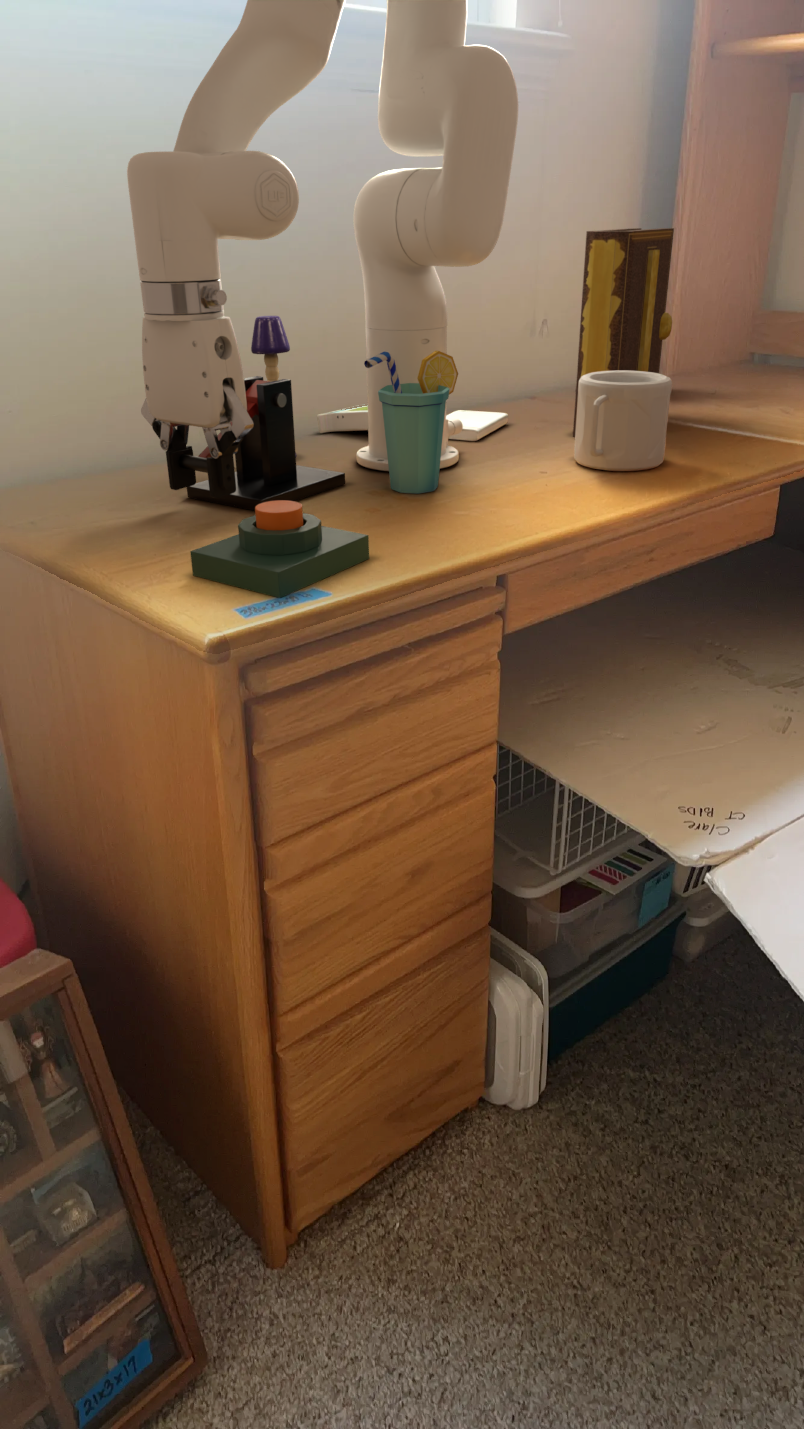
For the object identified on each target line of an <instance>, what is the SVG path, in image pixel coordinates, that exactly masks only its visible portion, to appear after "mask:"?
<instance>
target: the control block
mask: <svg viewBox="0 0 804 1429" xmlns="http://www.w3.org/2000/svg"><path fill="white" fill-rule="evenodd" d="M237 531H238V534H234V535H232V536H229V537H227V538H224V539H221V540H218V541H215V542H211V543H209V544H206V545H204V546H201V547H198V548H195V549H192V550H190V552H189V553H190V562H191V570H192V576H193V577H197V578H200V579H201V578H202V579H204V580H205V579H206V580H209V581H213V582H216V583H219V584H223V585H229V586H233V587H236V588H240V589H244V590H248V591H251V592H256V593H259V594H263V595H267V596H271V597H275V598H279V599H281V598H283V597H286V596H288V595H291V594H292V593H295V592H297V591H300V590H302V589H304V588H306V587H308V586H311V585H312V584H315V583H317V582H319V581H322V580H324V579H326V578H328V577H331V576H333V575H336V574H337V573H340V572H342V571H345V570H347V569H349V568H351V567H354V566H356V565H359V564H361V563H363V562H365V561H367V560H370V537H369V534H365V533H362V532H361V533H360V532H356V531H351V530H350V531H349V530H345V529H340V528H335V527H330V526H325V525H322V520H321V519H320V518H319V517H317V516H316V515H314V514H310V513H305V512H303V526H301V527H298V528H295V529H288V530H264V529H259V528H257V526H256V514H254V515H252V516H249V517H246V518H242V519H241V521H240V522H239V523H238V524H237Z"/></svg>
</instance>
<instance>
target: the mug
mask: <svg viewBox="0 0 804 1429" xmlns="http://www.w3.org/2000/svg"><path fill="white" fill-rule="evenodd" d="M672 387H673V381H672V379H671V377H670V376H668V375H666V374H662V373H660V372H659V373H653V372H645V371H628V370H615V371H599V372H593V373H589V374H586V375H583V376H582V377H581V378H580V380H579V385H578V402H577V417H576V432H575V436H574V449H573V459H574V460H575V462H577V464H579V465H581V466H583V467H586V468H590V469H594V470H595V469H596V470H603V471H613V472H634V471H645V470H650V469H654V468H656V467H659V466H660V465H661V464H663V462H664V459H665V452H666V442H667V428H668V420H669V409H670V402H671V401H670V399H671V394H672Z"/></svg>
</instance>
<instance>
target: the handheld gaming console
mask: <svg viewBox="0 0 804 1429" xmlns="http://www.w3.org/2000/svg"><path fill="white" fill-rule="evenodd" d="M345 409H346V408H342V410H341V409H336V410H333V411H329V412H324V413H320V414H317V415H316V419H317V420H316V421H317V427H318V428H317V429H318V432H319V434H325V433H330V432H331V433H332V432H353V431H355V432H357V431H368V405H367V406H362V407H357V408H352V409H346V410H345Z"/></svg>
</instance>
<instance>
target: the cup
mask: <svg viewBox="0 0 804 1429" xmlns="http://www.w3.org/2000/svg"><path fill="white" fill-rule="evenodd" d="M385 360H386V362H387V365H388V369H389V374H390V378H391V382H392V385H387V386H385V387H383V388H382V389H380V390H379V391H378V395H379V401H380V402H382V409H383V418H384V428H385V437H386V447H387V456H388V466H389V471H388V472H389V473H388V475H389V484H390V489H391V490H393V491H395V492H398V493H400V494H419V495H420V494H424V493H430V492H434V491H436V490H437V488H438V487H439V479H440V459H441V448H442V437H443V426H444V415H445V404H446V405H447V400H448V399H449V397H450V395H452V394H453V393H454V390H455V387H456V384H457V380H458V376H459V370H458V368H457V366H456V363H455V360H454V357H453V356H452V355H450V354H448V353H447V354H445V353H443V352H440V351H434V352H433V353H431V354H430V355H429V356H427V357H426V358H424V359H423V360H422V363H421V367H420V370H419V374H418V378H417V379H418V382H419V383H405V384H400V382H399V377H398V373H397V369H396V365H395V360H394V358H393V357H392V355H391V354H390V353H388V352H387V351H384V352H382V353H380V354H378V355H376V356H374V357H372V358H370V359H368V360H366V359H365V360H364V363H363V364H364V366H365V368H366V369H367V368H370V367H372V366H374V365H376V364H379V363H381V362H383V361H385Z"/></svg>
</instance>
